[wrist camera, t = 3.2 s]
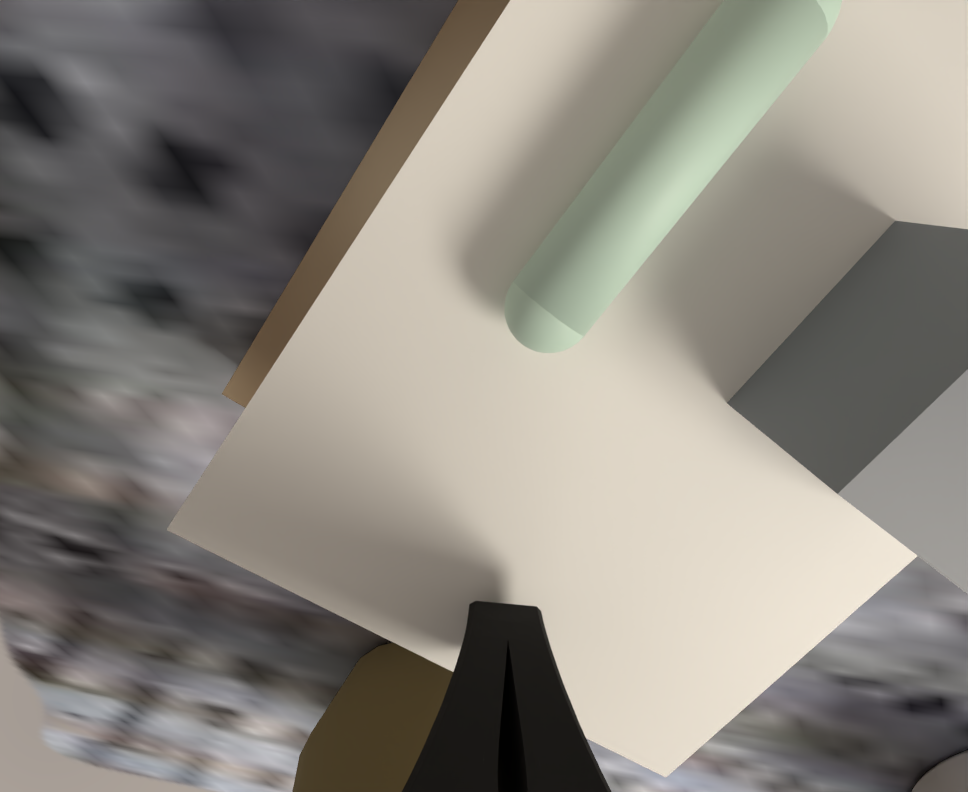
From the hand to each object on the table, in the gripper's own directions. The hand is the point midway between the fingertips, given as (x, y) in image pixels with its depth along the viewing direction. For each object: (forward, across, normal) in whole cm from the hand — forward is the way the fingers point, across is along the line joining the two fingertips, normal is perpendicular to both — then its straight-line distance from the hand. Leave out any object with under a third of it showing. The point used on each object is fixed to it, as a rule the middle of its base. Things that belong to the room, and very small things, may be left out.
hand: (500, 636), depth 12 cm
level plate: (+2, -4, -7) cm, 8 cm away
